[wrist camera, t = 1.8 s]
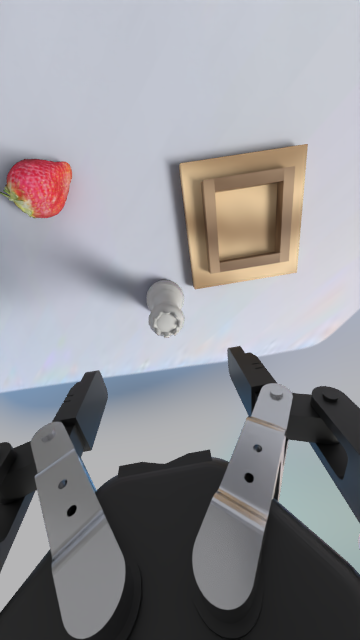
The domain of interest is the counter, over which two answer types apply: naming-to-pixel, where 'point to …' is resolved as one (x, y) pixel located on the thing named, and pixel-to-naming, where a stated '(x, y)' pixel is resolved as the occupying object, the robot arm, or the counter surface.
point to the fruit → (39, 186)
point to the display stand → (244, 215)
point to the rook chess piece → (165, 308)
